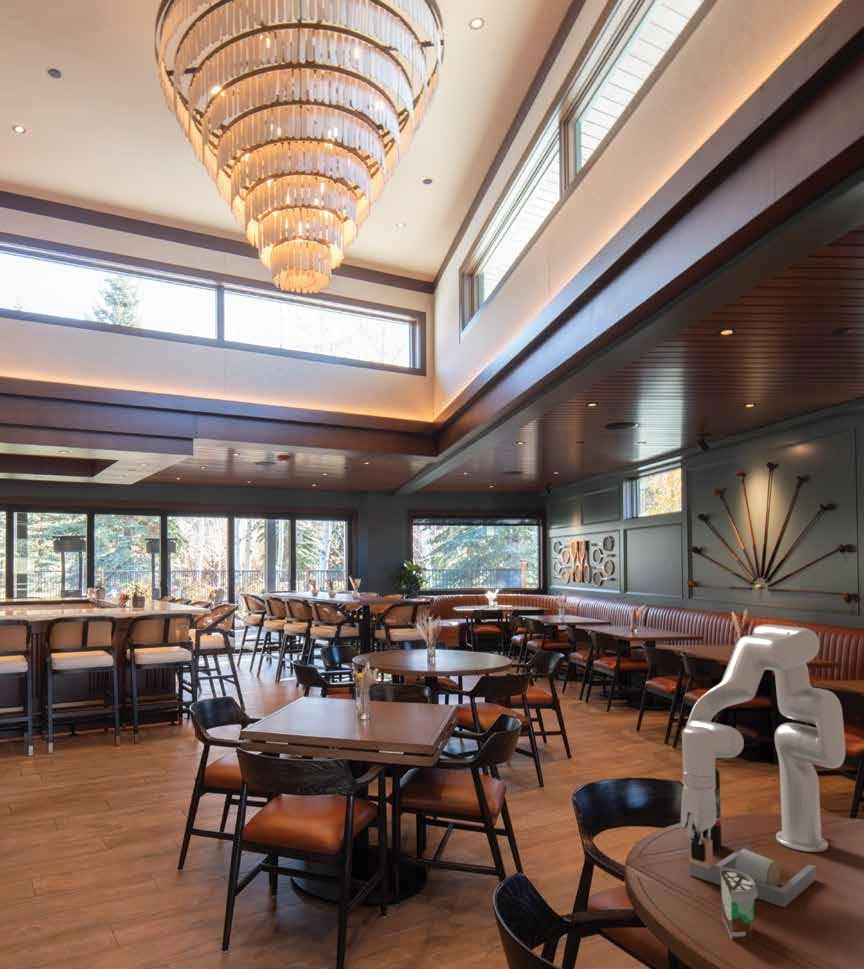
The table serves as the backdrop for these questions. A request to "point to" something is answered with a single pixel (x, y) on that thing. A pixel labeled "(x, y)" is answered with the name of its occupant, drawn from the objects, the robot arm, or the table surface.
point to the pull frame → (764, 890)
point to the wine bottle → (717, 826)
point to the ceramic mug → (758, 867)
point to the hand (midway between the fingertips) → (700, 857)
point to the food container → (737, 902)
